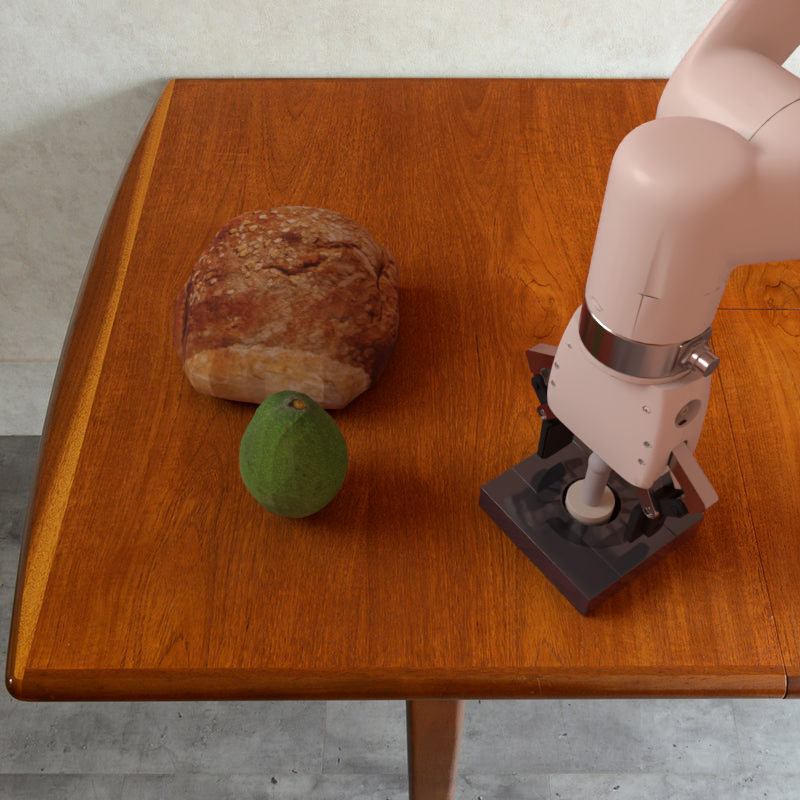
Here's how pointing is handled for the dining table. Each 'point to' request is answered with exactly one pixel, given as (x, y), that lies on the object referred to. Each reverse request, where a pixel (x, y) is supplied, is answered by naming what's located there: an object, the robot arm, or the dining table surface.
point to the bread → (288, 308)
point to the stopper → (591, 495)
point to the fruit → (292, 455)
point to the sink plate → (577, 527)
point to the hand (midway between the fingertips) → (596, 488)
